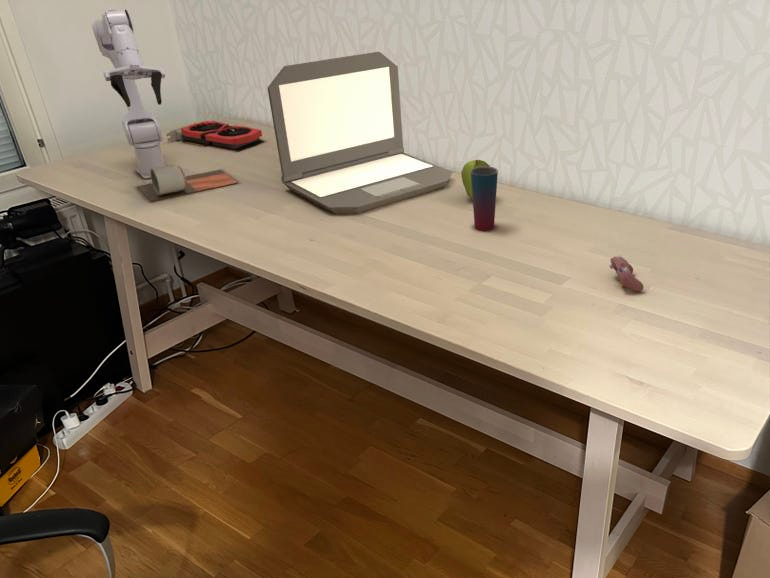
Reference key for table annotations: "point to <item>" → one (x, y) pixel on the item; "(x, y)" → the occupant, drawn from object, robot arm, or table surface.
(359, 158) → the laptop
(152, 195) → the walnut board
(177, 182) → the ceramic mug
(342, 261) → the table surface
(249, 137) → the graphics card
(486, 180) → the cup
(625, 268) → the reddish brown lumpy piece
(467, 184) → the apple
